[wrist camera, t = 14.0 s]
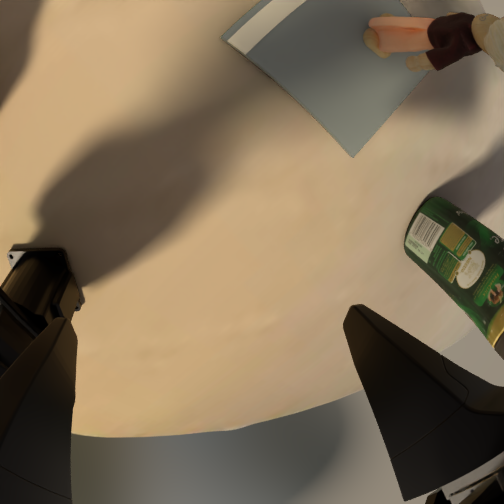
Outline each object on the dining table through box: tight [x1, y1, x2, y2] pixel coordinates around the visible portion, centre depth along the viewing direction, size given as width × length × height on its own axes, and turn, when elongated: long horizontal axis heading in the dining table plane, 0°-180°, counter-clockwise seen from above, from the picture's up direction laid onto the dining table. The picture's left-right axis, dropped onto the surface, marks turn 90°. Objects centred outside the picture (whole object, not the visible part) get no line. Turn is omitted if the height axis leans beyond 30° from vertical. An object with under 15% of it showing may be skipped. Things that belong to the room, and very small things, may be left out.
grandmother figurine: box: [363, 12, 504, 72], centre depth 9 cm, size 8×4×13 cm, turn 150°
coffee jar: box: [404, 197, 504, 360], centre depth 19 cm, size 10×8×19 cm
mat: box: [220, 0, 429, 158], centre depth 14 cm, size 13×14×1 cm
